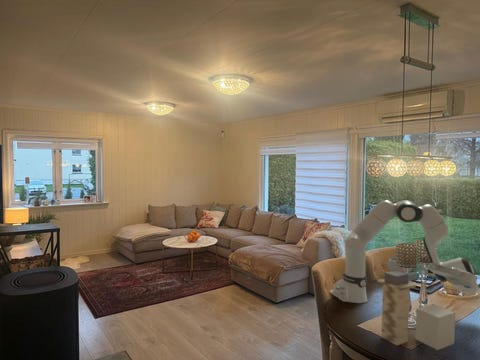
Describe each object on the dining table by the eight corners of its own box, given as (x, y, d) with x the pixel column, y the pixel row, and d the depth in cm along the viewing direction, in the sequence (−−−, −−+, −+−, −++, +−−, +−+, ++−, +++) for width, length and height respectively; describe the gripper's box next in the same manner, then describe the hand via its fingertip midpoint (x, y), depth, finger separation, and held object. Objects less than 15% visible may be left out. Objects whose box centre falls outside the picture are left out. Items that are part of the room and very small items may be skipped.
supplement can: (431, 274, 244) (432, 254, 243) (438, 277, 235) (439, 257, 235) (420, 274, 243) (421, 254, 243) (427, 277, 235) (428, 257, 235)
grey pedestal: (415, 339, 148) (416, 308, 147) (431, 333, 153) (433, 303, 153) (437, 350, 139) (438, 317, 138) (454, 343, 144) (455, 312, 144)
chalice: (390, 276, 236) (390, 255, 236) (411, 281, 227) (412, 259, 227) (384, 281, 225) (385, 259, 225) (406, 286, 217) (407, 263, 216)
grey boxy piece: (384, 281, 147) (384, 272, 147) (410, 275, 155) (410, 267, 155) (396, 285, 142) (396, 276, 142) (422, 279, 150) (422, 271, 150)
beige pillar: (375, 335, 150) (377, 279, 149) (390, 331, 155) (392, 276, 154) (398, 348, 139) (400, 288, 139) (413, 343, 144) (416, 284, 143)
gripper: (438, 266, 175) (424, 255, 169) (481, 277, 157) (467, 266, 151) (434, 277, 174) (420, 266, 168) (477, 289, 156) (463, 278, 150)
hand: (443, 266), depth 160 cm, fingers open, 8 cm apart
